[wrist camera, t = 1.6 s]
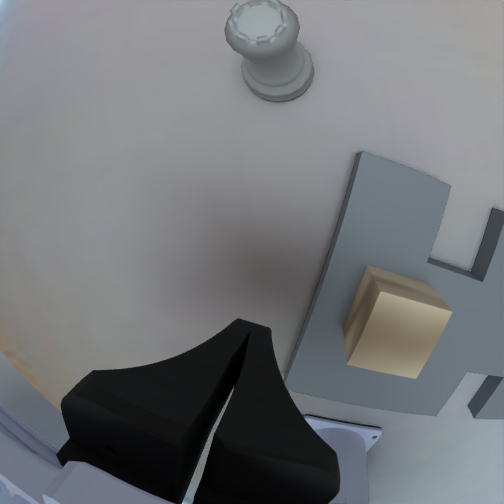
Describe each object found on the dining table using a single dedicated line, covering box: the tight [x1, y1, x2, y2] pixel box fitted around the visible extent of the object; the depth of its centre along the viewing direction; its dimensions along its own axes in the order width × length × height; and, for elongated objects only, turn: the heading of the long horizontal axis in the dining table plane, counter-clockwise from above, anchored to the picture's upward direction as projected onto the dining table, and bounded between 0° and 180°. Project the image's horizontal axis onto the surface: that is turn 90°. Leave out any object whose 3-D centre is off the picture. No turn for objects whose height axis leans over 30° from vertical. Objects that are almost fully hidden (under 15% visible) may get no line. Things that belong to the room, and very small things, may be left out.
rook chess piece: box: [224, 0, 314, 102], centre depth 13 cm, size 4×4×8 cm
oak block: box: [342, 265, 452, 379], centre depth 16 cm, size 4×4×4 cm
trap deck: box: [284, 152, 504, 419], centre depth 18 cm, size 17×26×2 cm, turn 76°
